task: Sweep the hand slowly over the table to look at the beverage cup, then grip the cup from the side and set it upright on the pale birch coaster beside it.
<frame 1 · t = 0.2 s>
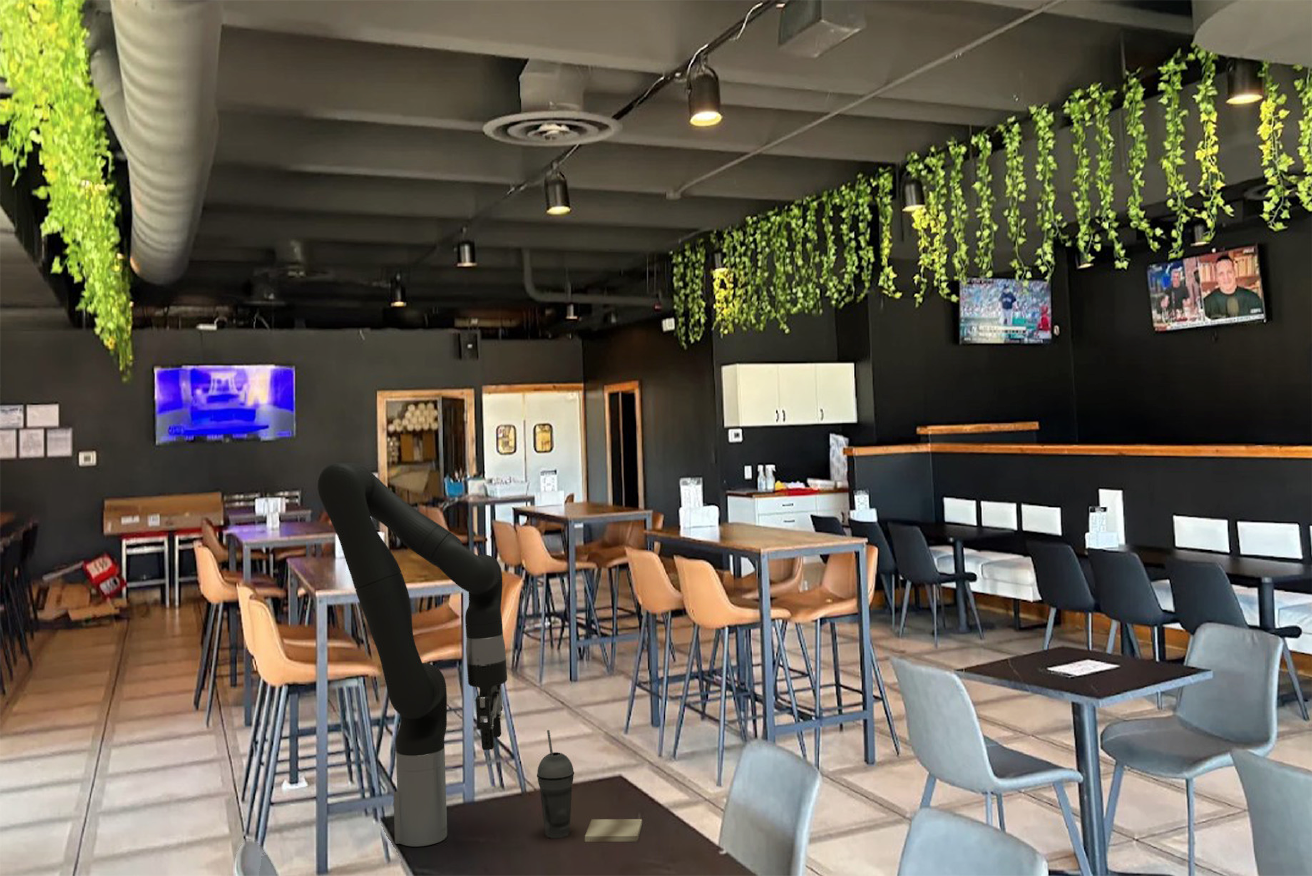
hand: (492, 743, 197), 18 cm above the table, tool pointing down, fingers open, 8 cm apart
beverage cup: (557, 835, 197), on the table
birch coaster: (614, 832, 197), on the table
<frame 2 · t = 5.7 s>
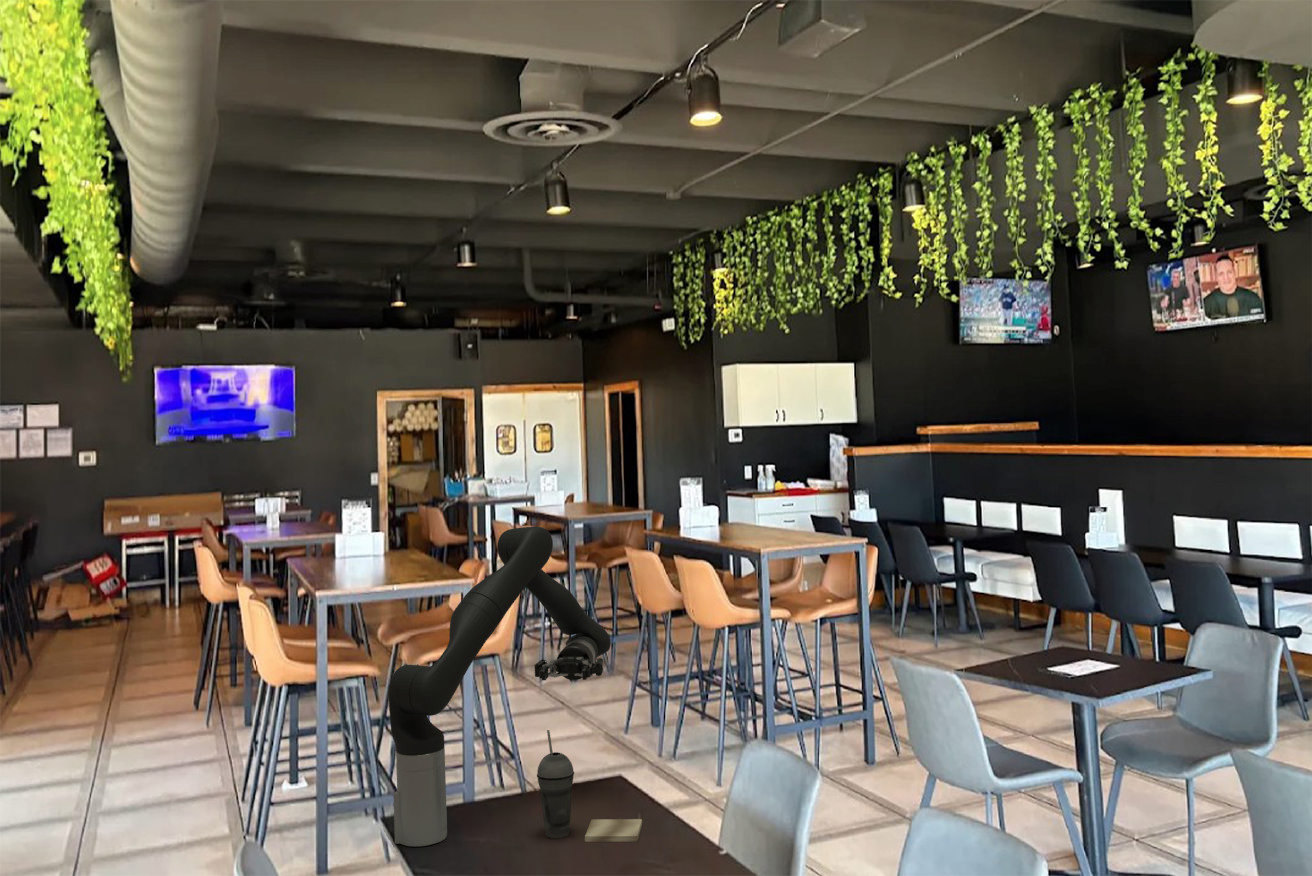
hand: (563, 675, 210), 28 cm above the table, tool horizontal, fingers open, 8 cm apart
nothing on the table moved.
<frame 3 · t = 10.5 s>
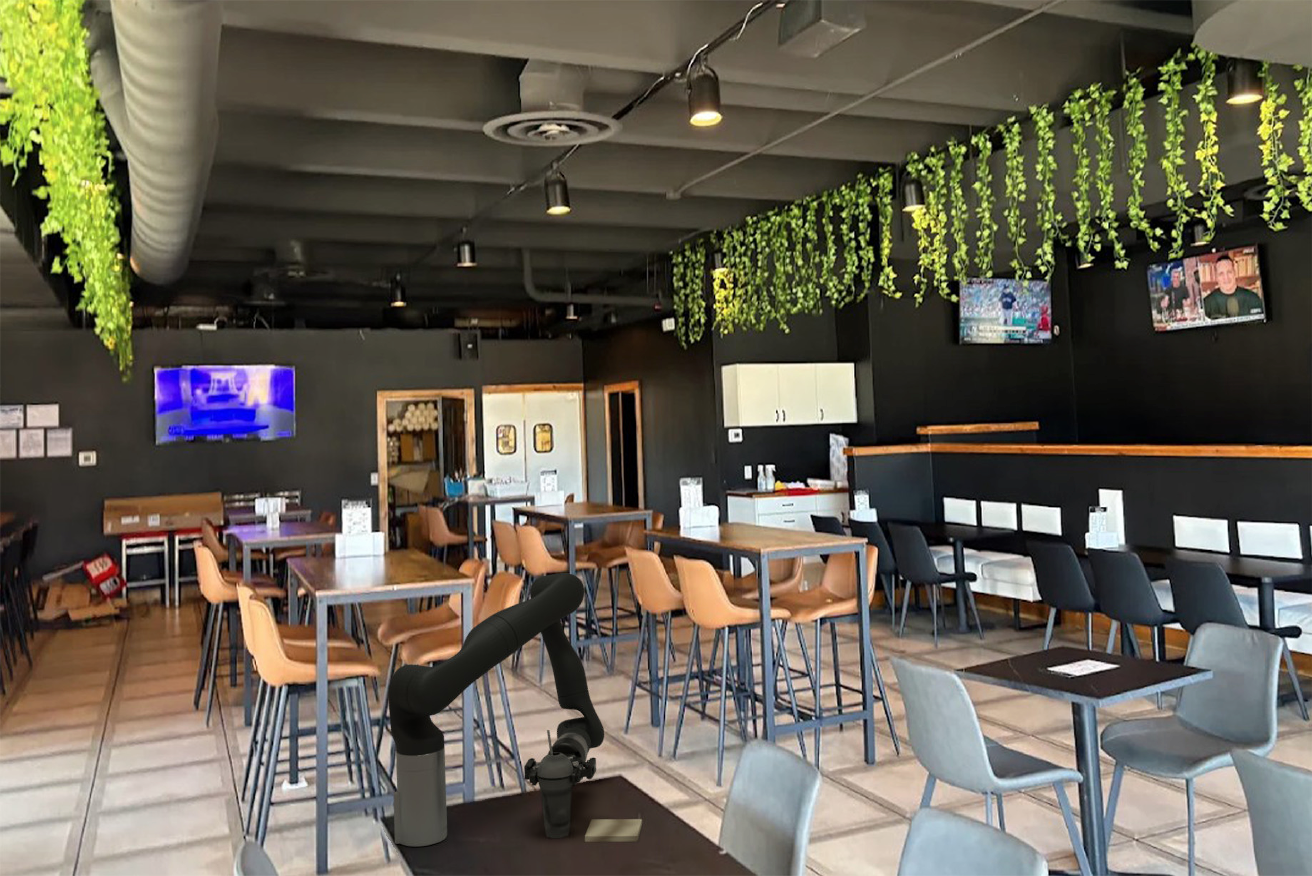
hand: (553, 780, 196), 11 cm above the table, tool horizontal, fingers closed on beverage cup, 7 cm apart
beverage cup: (557, 835, 197), on the table, touching gripper
when the fingers open (13 cm above the table, at t = 14.6 s): beverage cup stays where it is, resting on birch coaster.
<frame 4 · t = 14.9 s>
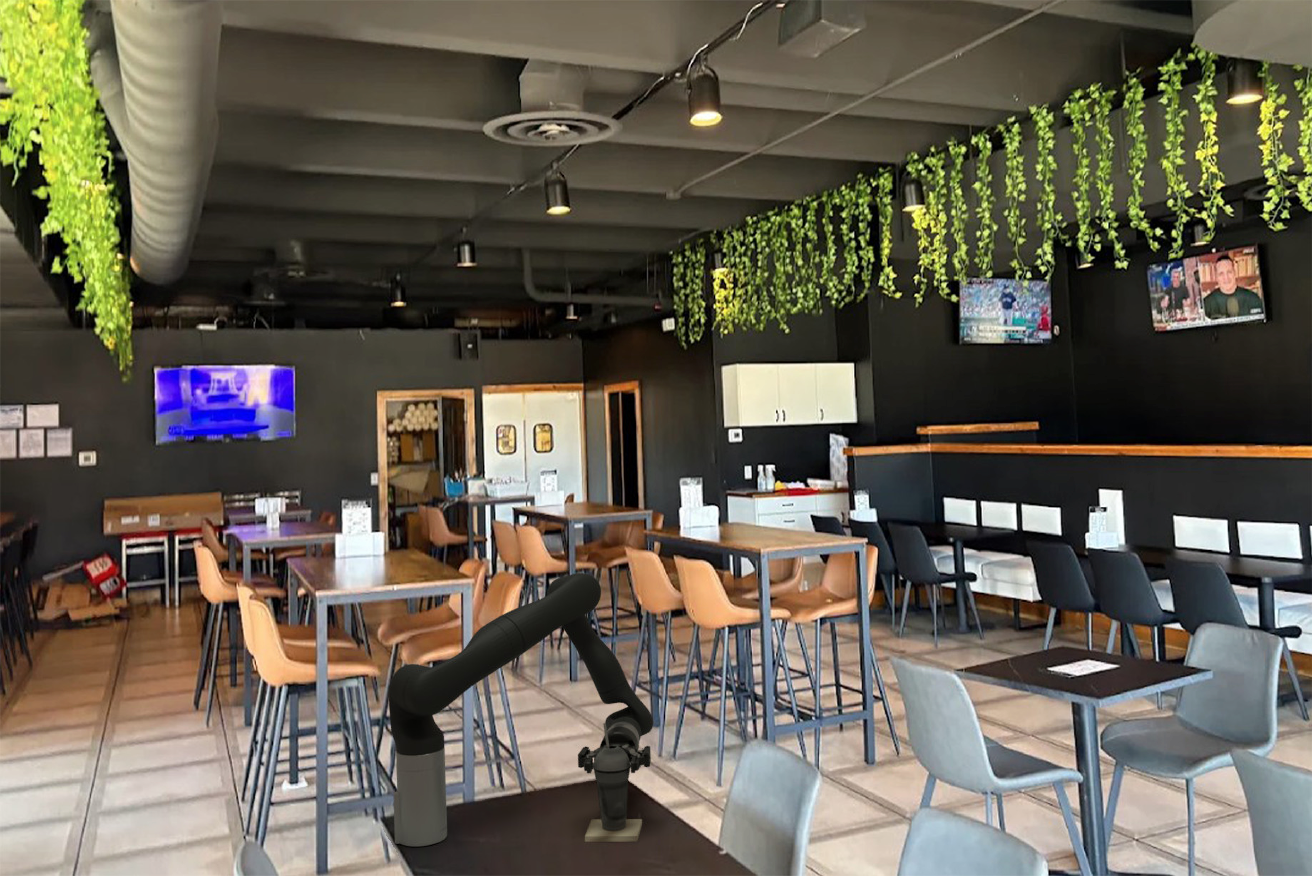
hand: (610, 768, 195), 13 cm above the table, tool horizontal, fingers open, 8 cm apart
beverage cup: (614, 828, 197), point 1 cm above the table, touching birch coaster
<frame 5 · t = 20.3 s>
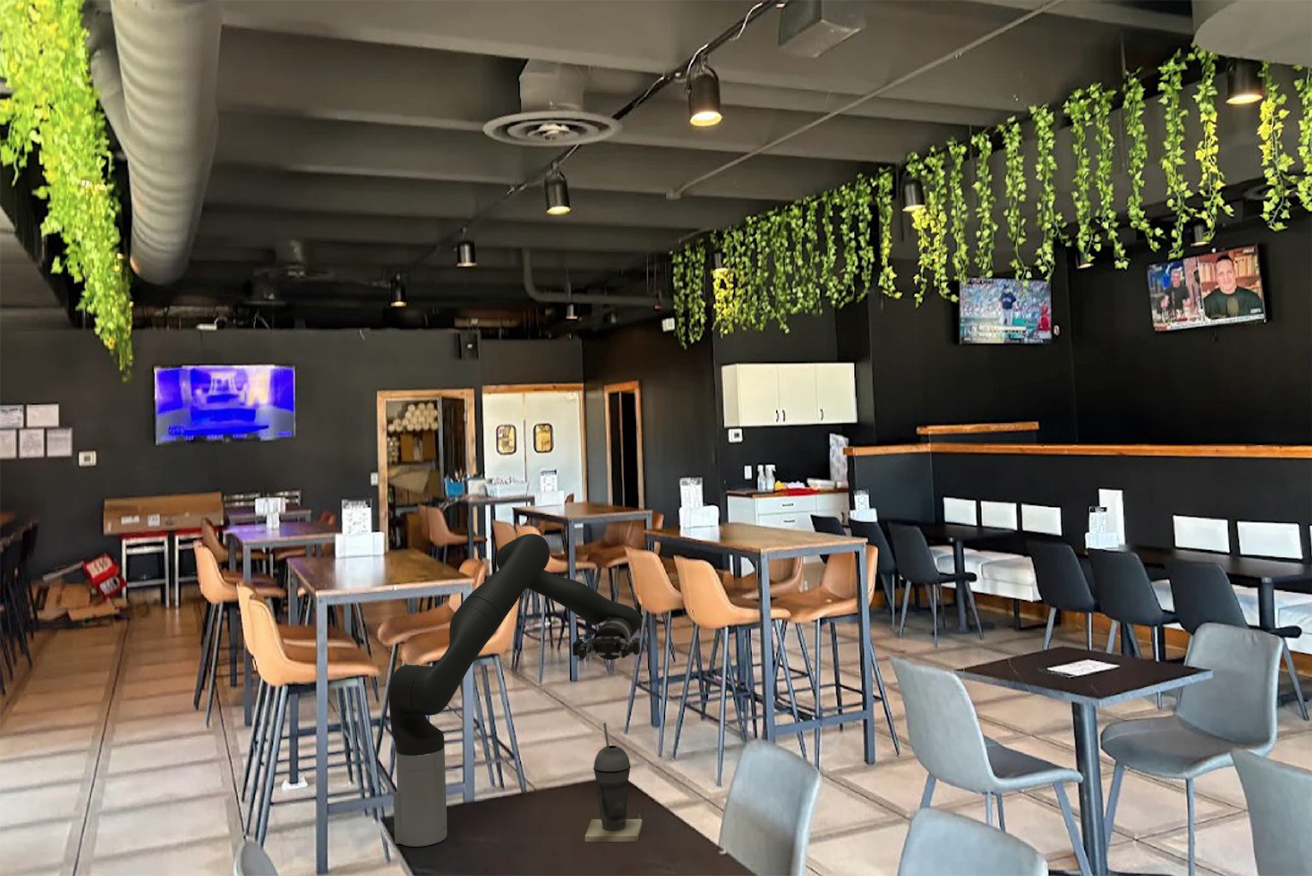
hand: (602, 653, 212), 32 cm above the table, tool horizontal, fingers open, 8 cm apart
nothing on the table moved.
at the end: beverage cup 0.2 cm off-centre on the birch coaster, point 0.8 cm above the birch coaster's base; beverage cup tilted 0°; the gripper is holding nothing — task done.
